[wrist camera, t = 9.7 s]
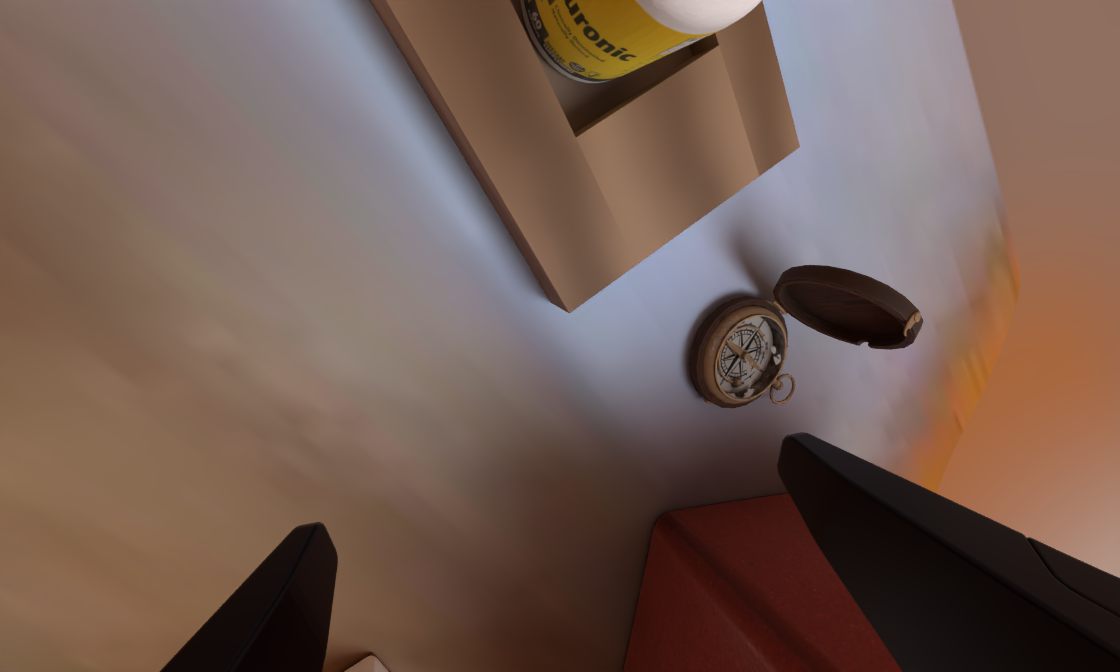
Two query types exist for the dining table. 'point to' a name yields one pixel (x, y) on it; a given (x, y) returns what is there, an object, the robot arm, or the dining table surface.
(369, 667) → the medicine bottle
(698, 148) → the socket board
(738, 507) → the plant pot
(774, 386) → the compass
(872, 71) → the dining table surface
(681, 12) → the supplement bottle
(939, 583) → the robot arm
